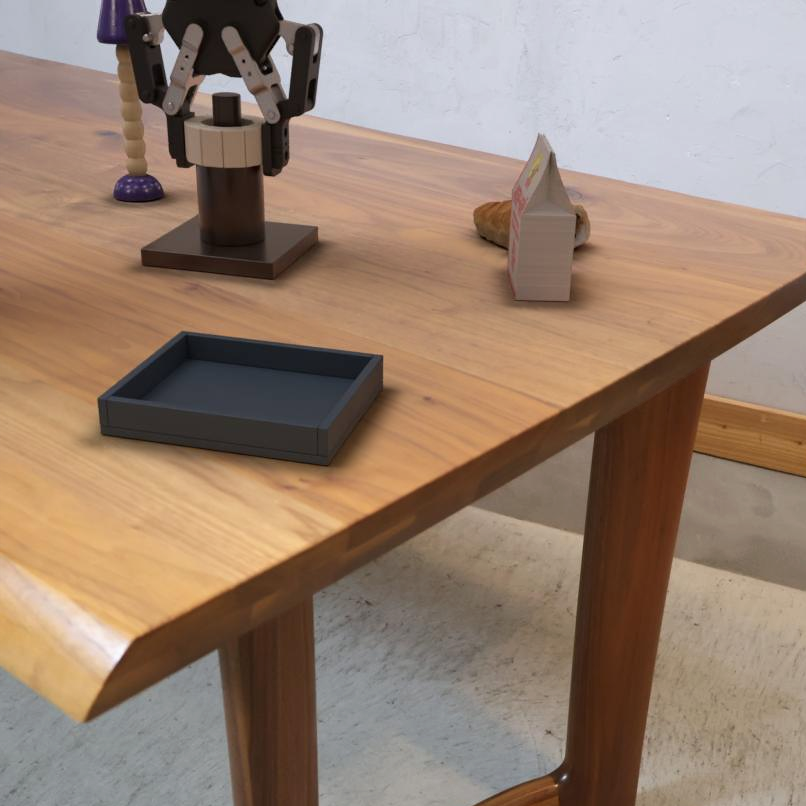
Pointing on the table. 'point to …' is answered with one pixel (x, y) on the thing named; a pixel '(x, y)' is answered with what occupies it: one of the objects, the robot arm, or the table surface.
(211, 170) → the stand
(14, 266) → the table surface
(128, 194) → the toy lamp
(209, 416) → the tray
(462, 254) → the table surface
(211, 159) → the ring
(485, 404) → the table surface
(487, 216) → the pastry
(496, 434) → the table surface
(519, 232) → the milk carton
